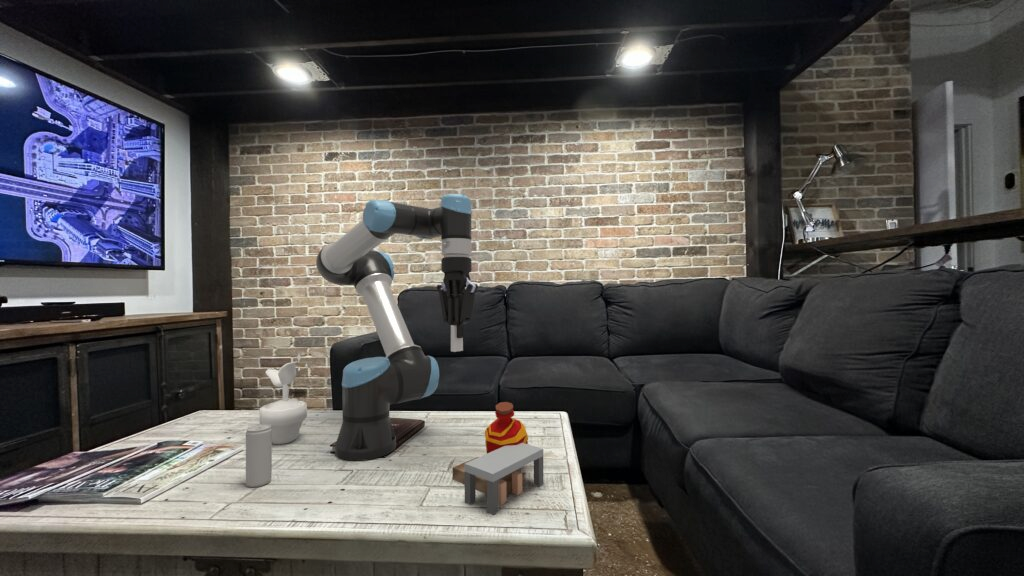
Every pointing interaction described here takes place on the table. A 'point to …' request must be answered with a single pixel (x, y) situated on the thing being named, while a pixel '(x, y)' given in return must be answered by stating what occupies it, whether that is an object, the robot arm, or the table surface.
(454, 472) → the panel
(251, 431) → the beverage can
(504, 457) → the shelf
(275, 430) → the potted plant
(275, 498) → the table surface
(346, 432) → the robot arm
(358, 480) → the table surface
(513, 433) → the potion bottle
